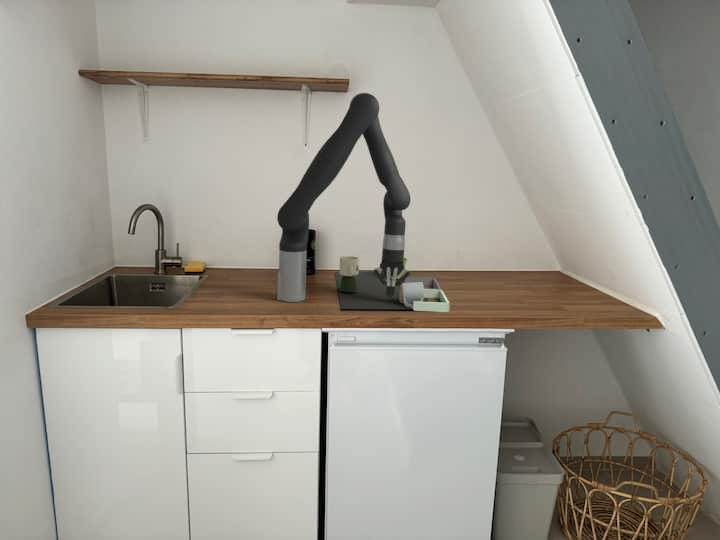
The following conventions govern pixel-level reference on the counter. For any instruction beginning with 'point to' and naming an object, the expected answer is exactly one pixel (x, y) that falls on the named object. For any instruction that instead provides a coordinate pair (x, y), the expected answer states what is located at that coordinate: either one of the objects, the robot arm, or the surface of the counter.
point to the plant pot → (402, 271)
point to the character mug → (348, 273)
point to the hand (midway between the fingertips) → (389, 296)
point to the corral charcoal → (424, 282)
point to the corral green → (432, 305)
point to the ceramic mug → (411, 293)
